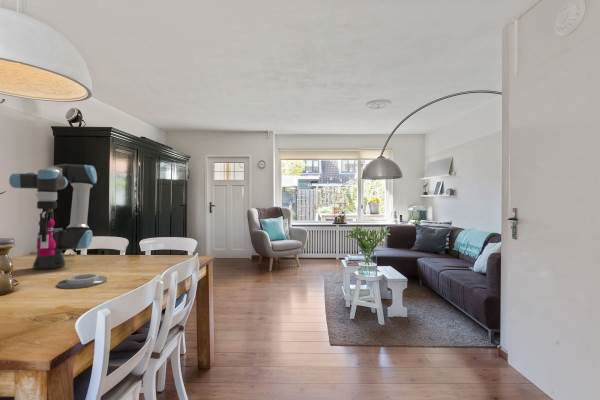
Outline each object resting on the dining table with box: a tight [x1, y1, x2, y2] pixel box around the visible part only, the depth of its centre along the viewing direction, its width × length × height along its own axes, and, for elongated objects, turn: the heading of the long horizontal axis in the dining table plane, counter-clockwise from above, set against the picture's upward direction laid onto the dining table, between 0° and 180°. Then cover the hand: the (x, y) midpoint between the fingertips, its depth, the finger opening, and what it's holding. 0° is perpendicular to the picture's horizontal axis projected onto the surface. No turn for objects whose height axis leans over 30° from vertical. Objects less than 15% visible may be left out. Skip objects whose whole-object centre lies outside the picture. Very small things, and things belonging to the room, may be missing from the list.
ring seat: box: [57, 273, 108, 290], centre depth 149 cm, size 20×20×3 cm
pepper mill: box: [36, 218, 56, 256], centre depth 146 cm, size 7×7×20 cm
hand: (46, 246), depth 146 cm, fingers closed on pepper mill, 7 cm apart
